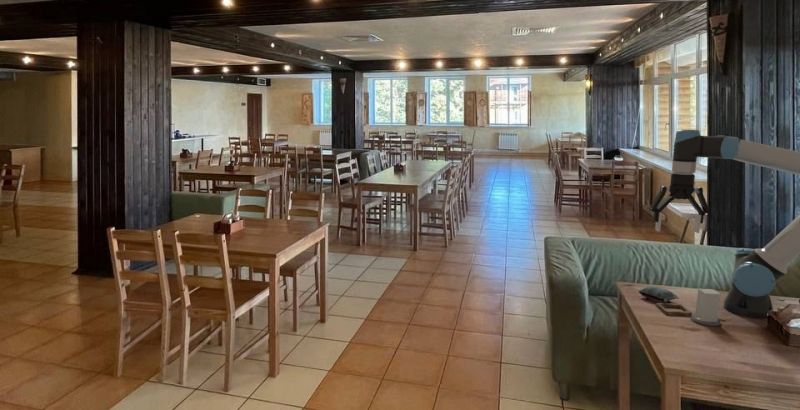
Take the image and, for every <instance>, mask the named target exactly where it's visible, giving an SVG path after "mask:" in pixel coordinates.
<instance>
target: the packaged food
mask: <svg viewBox="0 0 800 410" xmlns="http://www.w3.org/2000/svg"><path fill="white" fill-rule="evenodd" d="M637 292H638V293H639V294H640V295H641V296H642V297H643V298H646V299H649V300H651V299H652V300H651V301H654V302H656V303H668V302H670V301H672V300H675V299H677V300H678V299H680V297H679V296H678V295H677V294H674V293H673V292H672V291H670V290H669V289H666V288H664V287H661V286H657V285H656V286H655V285H651V284H650V285H648V286H645V287H644V288H643V289H641V290H638V291H637Z"/></svg>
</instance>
